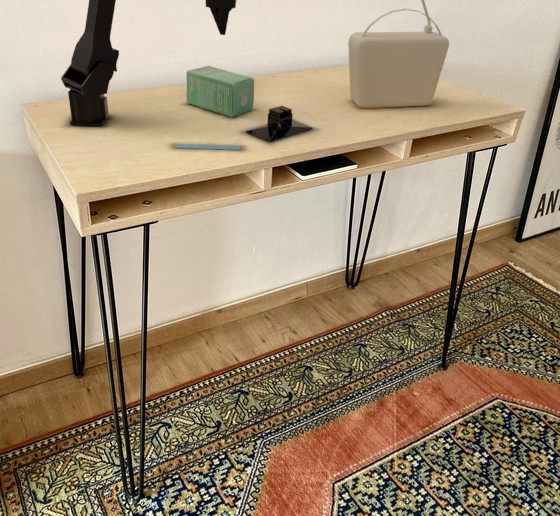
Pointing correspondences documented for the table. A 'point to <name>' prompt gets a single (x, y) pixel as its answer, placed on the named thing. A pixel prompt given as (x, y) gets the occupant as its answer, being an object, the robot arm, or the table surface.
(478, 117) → the table surface
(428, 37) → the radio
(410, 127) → the table surface
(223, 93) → the box
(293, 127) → the black stand
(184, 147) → the tape line
